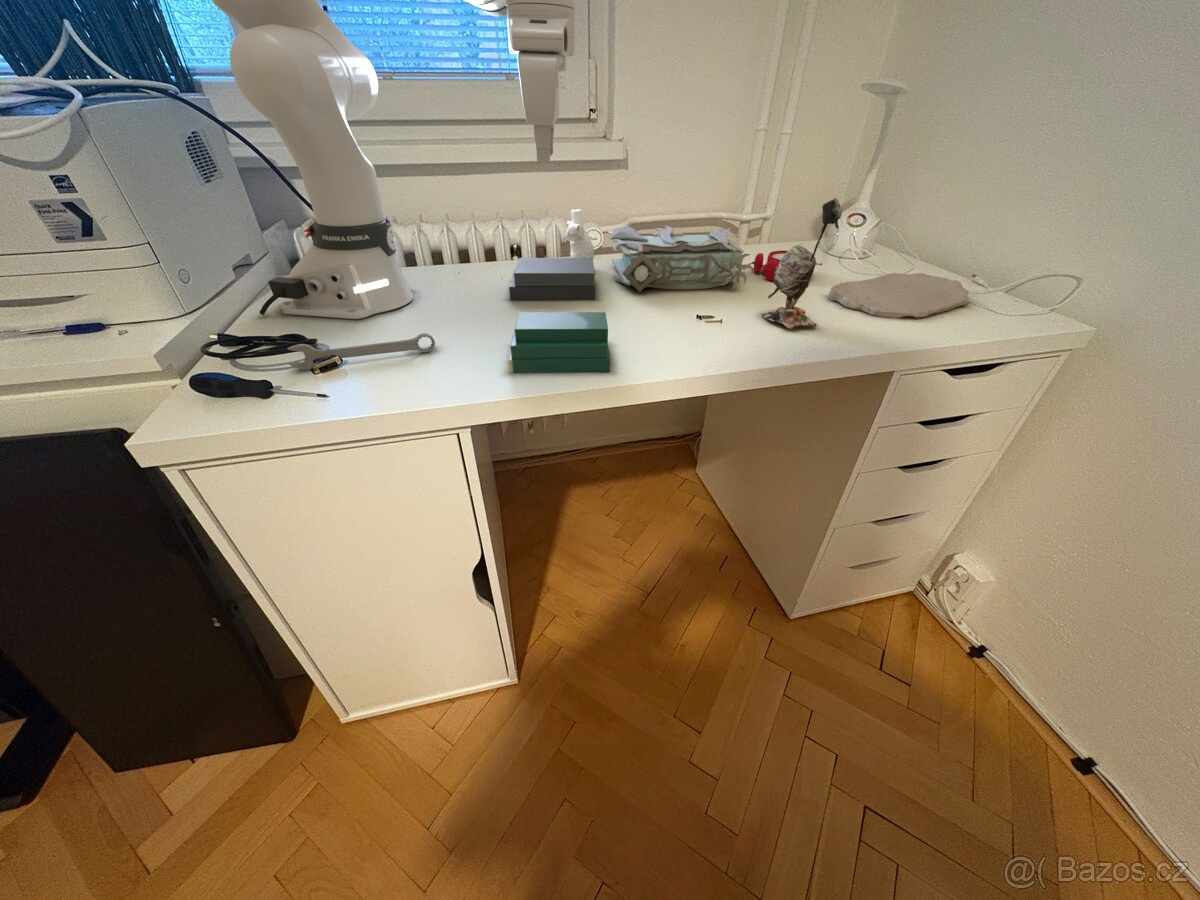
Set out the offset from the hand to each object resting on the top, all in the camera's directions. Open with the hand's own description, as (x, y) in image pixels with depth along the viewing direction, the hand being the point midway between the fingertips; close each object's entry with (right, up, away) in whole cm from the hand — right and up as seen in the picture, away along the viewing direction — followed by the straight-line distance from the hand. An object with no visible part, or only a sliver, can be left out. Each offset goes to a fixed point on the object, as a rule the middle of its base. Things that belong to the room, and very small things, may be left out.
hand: (545, 158), depth 72 cm
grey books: (-1, -11, +25) cm, 28 cm away
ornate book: (+25, -6, +34) cm, 42 cm away
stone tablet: (+69, -14, +24) cm, 74 cm away
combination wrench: (-27, -31, -1) cm, 41 cm away
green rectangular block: (+2, -30, +1) cm, 30 cm away
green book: (+3, -27, -2) cm, 27 cm away
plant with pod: (+42, -20, +15) cm, 49 cm away
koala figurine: (+3, -2, +38) cm, 38 cm away
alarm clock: (+48, -5, +36) cm, 60 cm away
